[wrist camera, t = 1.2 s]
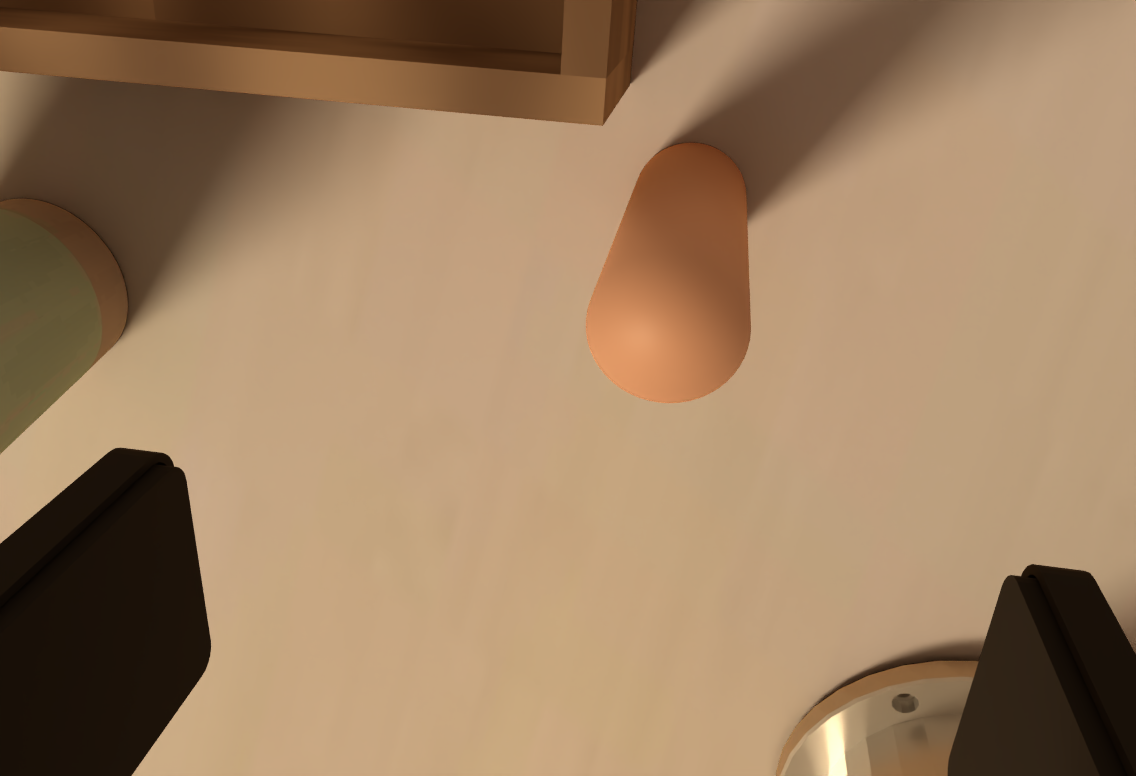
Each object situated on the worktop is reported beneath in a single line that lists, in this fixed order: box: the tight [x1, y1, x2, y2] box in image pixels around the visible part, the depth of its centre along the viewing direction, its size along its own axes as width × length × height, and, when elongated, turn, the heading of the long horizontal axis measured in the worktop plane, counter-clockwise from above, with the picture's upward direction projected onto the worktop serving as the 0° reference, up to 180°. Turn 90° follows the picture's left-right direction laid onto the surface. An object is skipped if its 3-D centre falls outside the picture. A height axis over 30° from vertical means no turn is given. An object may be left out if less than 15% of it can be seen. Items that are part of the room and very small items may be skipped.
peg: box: [586, 143, 751, 403], centre depth 23 cm, size 3×3×10 cm
